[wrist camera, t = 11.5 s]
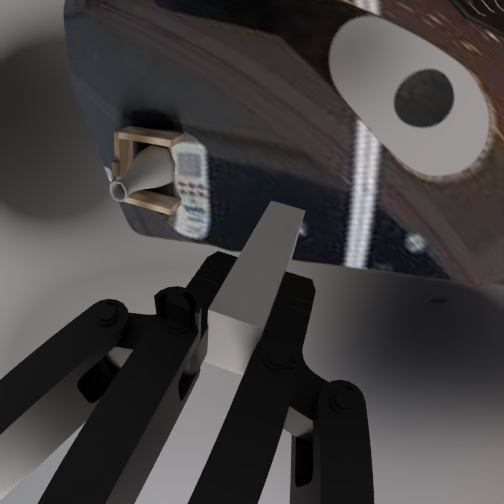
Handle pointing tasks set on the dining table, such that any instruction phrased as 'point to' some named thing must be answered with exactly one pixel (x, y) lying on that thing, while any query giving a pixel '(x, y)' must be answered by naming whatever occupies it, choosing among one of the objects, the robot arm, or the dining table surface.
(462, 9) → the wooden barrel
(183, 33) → the dining table surface
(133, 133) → the u-shaped wooden frame
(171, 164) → the flask
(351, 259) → the dining table surface
